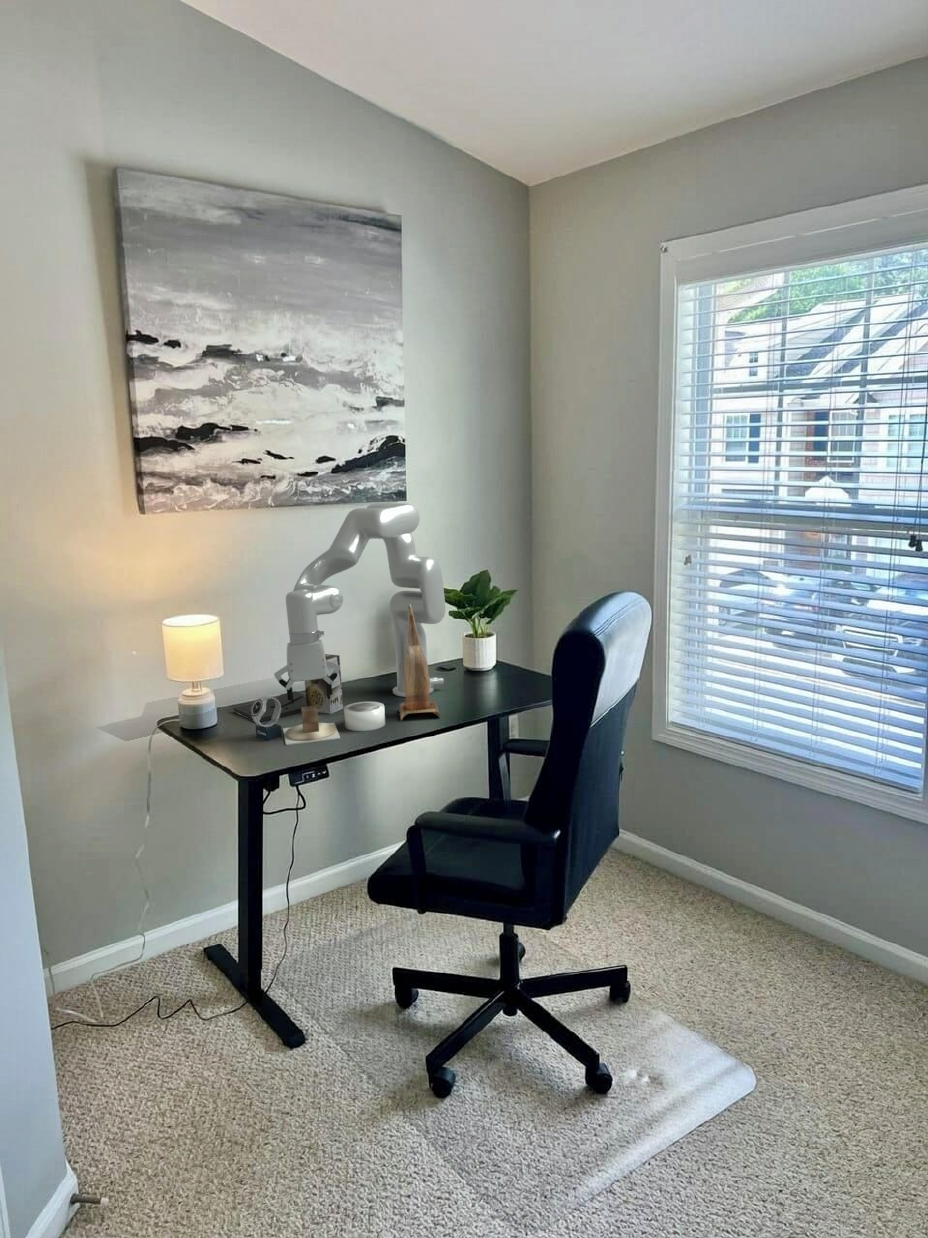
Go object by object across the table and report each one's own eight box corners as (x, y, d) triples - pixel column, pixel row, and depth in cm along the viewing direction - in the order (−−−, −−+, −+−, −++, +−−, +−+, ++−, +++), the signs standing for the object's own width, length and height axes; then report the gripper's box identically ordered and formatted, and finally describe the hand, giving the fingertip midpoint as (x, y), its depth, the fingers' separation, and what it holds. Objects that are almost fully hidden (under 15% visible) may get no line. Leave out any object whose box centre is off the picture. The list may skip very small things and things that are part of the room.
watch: (250, 738, 237) (246, 698, 235) (275, 731, 242) (272, 692, 240) (261, 743, 233) (257, 702, 231) (287, 735, 238) (284, 695, 236)
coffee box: (344, 708, 261) (340, 655, 258) (330, 714, 256) (326, 659, 253) (320, 705, 266) (316, 652, 263) (305, 711, 260) (301, 657, 257)
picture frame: (296, 699, 275) (234, 714, 262) (295, 691, 275) (233, 705, 262) (323, 709, 264) (259, 725, 250) (322, 700, 263) (258, 716, 250)
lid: (333, 723, 246) (331, 699, 245) (338, 737, 234) (336, 712, 232) (285, 728, 243) (283, 704, 242) (287, 743, 231) (285, 717, 229)
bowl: (381, 717, 251) (380, 699, 250) (388, 728, 241) (387, 710, 240) (342, 721, 249) (341, 704, 248) (347, 733, 238) (346, 715, 237)
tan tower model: (436, 708, 259) (429, 599, 254) (441, 718, 247) (434, 604, 242) (398, 712, 257) (390, 602, 252) (401, 722, 246) (393, 607, 241)
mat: (334, 724, 247) (334, 722, 247) (340, 739, 233) (340, 737, 233) (283, 729, 243) (282, 728, 243) (286, 745, 230) (285, 744, 230)
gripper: (335, 630, 239) (341, 692, 243) (269, 638, 235) (276, 700, 239) (338, 636, 232) (344, 699, 236) (271, 644, 228) (278, 708, 232)
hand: (310, 700), depth 237 cm, fingers open, 9 cm apart
